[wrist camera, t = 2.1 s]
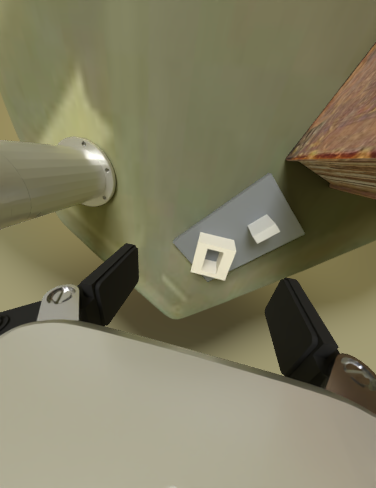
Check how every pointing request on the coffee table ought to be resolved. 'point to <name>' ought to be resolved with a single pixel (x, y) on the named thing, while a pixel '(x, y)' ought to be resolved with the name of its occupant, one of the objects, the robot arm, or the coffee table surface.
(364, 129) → the book
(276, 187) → the grey flat piece
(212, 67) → the coffee table surface
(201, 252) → the collar
